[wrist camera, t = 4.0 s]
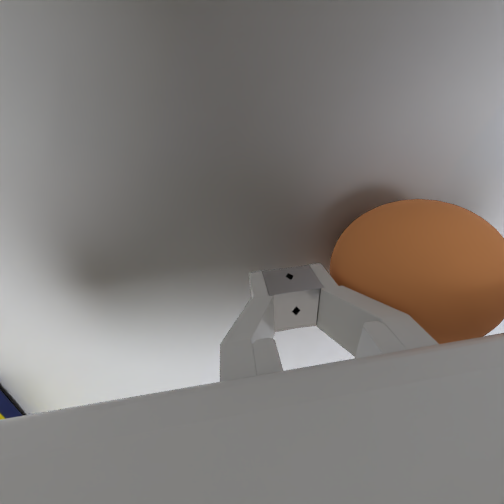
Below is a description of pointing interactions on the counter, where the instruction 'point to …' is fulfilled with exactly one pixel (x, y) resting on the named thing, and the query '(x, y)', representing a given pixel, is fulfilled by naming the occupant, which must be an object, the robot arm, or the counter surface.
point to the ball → (426, 266)
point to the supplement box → (7, 408)
